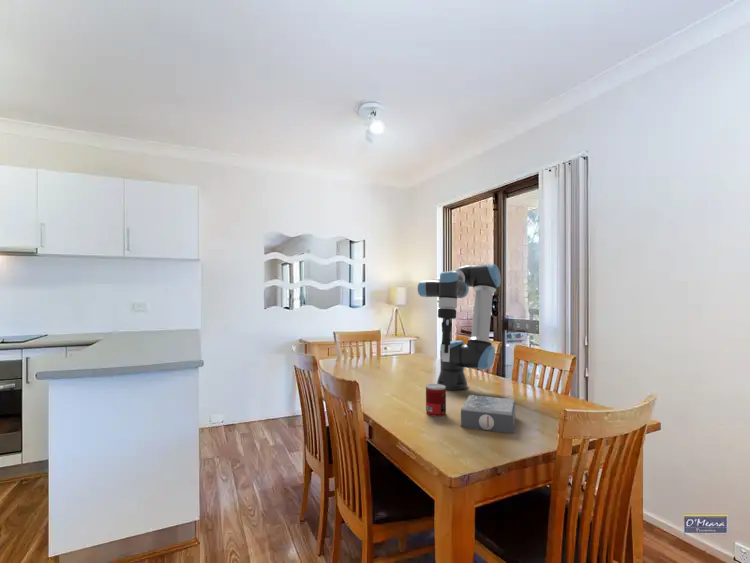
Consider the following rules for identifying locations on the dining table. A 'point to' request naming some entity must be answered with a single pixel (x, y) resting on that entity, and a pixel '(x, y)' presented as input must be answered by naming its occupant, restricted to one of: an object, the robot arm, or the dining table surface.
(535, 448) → the dining table surface
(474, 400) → the scale pan
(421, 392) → the dining table surface
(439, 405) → the canned food
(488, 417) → the scale base
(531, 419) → the dining table surface
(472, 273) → the robot arm
